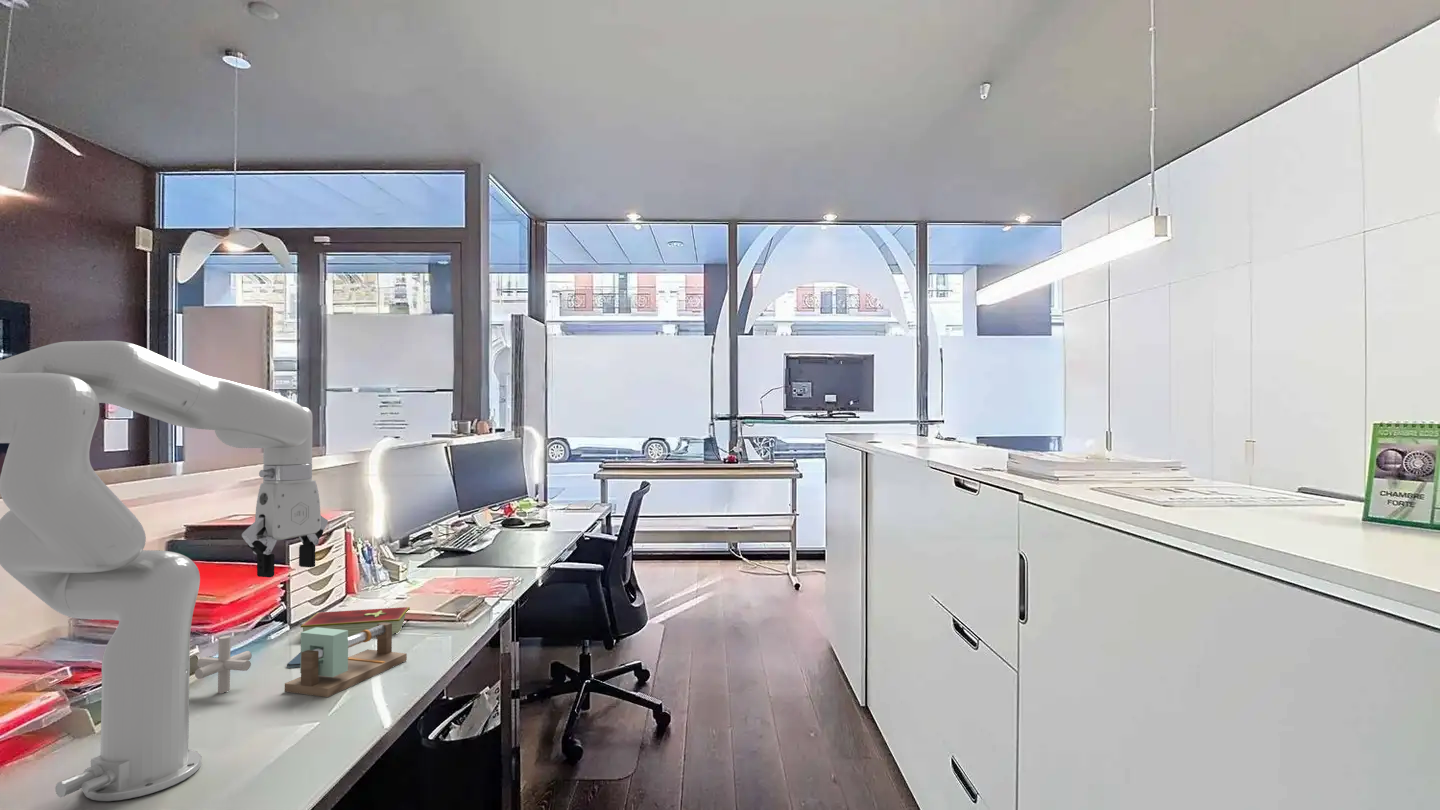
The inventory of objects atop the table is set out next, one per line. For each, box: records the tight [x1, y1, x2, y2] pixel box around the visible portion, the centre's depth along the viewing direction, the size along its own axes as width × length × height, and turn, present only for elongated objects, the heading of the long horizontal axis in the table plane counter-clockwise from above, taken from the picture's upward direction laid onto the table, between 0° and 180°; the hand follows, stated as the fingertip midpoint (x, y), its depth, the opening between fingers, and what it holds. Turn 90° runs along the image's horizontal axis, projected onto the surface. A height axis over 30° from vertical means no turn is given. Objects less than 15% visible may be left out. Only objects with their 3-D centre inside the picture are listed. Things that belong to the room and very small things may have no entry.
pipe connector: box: [194, 635, 252, 694], centre depth 128 cm, size 10×10×10 cm
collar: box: [299, 627, 349, 677], centre depth 130 cm, size 4×8×8 cm, turn 74°
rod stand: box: [284, 622, 408, 698], centre depth 136 cm, size 20×10×8 cm, turn 164°
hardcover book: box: [300, 606, 411, 637], centre depth 166 cm, size 12×21×4 cm, turn 103°
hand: (287, 571), depth 124 cm, fingers open, 7 cm apart
